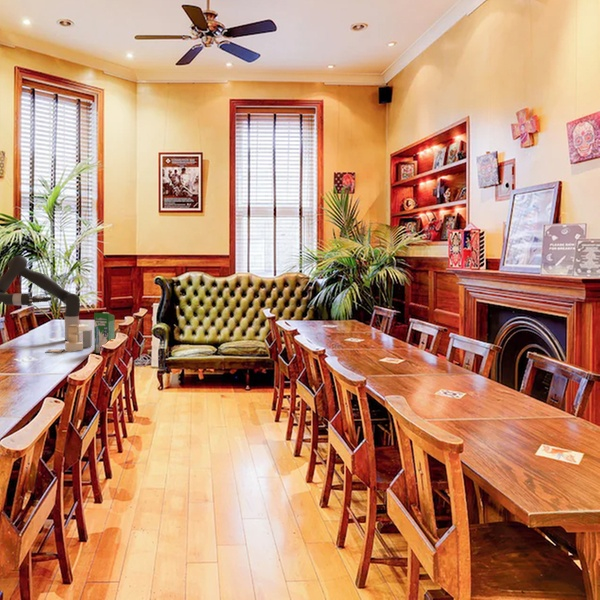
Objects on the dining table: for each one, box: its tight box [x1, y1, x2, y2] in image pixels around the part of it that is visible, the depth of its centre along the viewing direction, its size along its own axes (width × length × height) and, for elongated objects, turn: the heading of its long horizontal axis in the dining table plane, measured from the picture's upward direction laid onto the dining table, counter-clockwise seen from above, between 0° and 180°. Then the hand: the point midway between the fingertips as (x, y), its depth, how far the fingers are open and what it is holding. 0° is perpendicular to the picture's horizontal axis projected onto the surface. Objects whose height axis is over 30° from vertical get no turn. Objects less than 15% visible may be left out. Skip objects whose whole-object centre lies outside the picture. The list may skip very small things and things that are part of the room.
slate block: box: [82, 329, 93, 348], centre depth 361 cm, size 5×5×11 cm
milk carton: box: [93, 311, 116, 354], centre depth 343 cm, size 9×9×25 cm
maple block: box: [68, 324, 80, 343], centre depth 348 cm, size 5×5×11 cm
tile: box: [44, 348, 65, 354], centre depth 341 cm, size 9×9×1 cm
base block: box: [64, 340, 84, 352], centre depth 349 cm, size 10×10×5 cm
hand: (49, 299), depth 349 cm, fingers open, 8 cm apart
